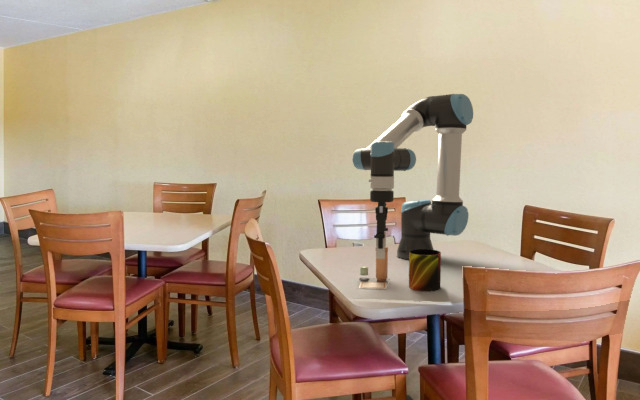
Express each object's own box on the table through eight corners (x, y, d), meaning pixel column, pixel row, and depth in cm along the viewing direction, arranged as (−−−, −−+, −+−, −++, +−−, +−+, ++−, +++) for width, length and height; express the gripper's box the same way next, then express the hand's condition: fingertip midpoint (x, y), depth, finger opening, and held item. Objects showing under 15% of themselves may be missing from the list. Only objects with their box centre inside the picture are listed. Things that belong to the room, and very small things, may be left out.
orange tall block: (387, 279, 163) (388, 246, 161) (387, 282, 159) (387, 249, 158) (375, 278, 163) (375, 246, 162) (375, 281, 159) (375, 248, 158)
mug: (410, 281, 163) (410, 246, 162) (446, 289, 153) (447, 252, 151) (392, 287, 156) (392, 250, 155) (428, 296, 146) (429, 256, 145)
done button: (368, 273, 163) (368, 266, 163) (367, 275, 161) (367, 268, 161) (360, 273, 164) (360, 266, 164) (360, 275, 161) (360, 268, 161)
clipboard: (389, 280, 164) (389, 277, 163) (388, 292, 150) (388, 289, 150) (359, 279, 165) (359, 276, 165) (356, 291, 152) (356, 288, 152)
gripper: (372, 187, 171) (371, 247, 173) (368, 192, 146) (367, 261, 148) (393, 187, 170) (392, 247, 171) (393, 192, 145) (392, 262, 147)
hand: (381, 254), depth 160 cm, fingers open, 13 cm apart
